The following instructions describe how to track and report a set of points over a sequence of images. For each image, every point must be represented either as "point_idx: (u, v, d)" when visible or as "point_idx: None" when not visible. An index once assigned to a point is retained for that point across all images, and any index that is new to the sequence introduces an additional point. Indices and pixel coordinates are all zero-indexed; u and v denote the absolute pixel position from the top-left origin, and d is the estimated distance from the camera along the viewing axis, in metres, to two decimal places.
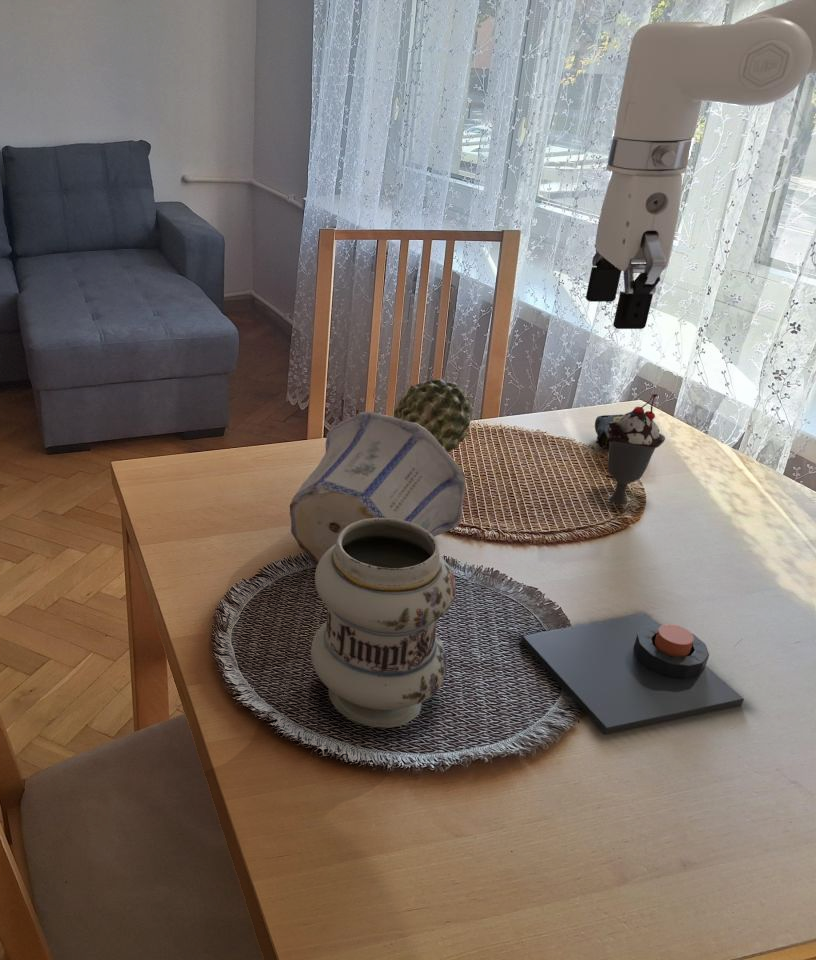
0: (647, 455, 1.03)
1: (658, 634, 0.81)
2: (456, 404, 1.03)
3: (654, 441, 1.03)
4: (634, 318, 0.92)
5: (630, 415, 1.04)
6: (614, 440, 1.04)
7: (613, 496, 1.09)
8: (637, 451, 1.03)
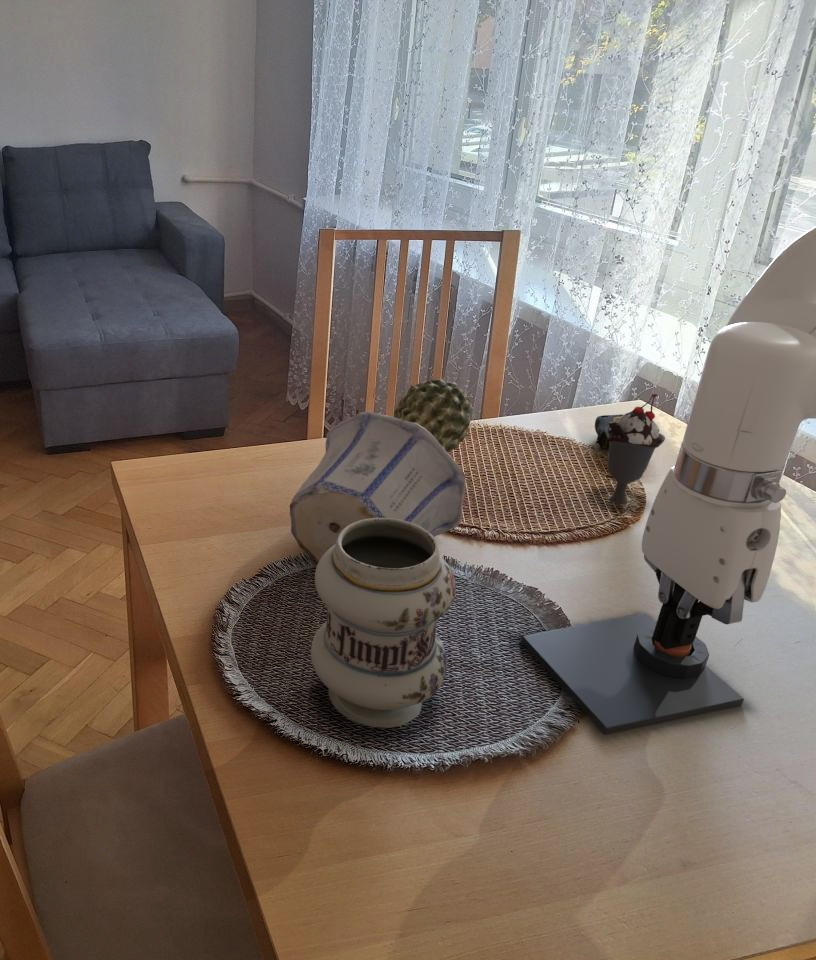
0: (647, 455, 1.03)
1: (656, 641, 0.82)
2: (456, 404, 1.03)
3: (654, 441, 1.03)
4: (687, 639, 0.79)
5: (630, 415, 1.04)
6: (614, 440, 1.04)
7: (613, 496, 1.09)
8: (637, 451, 1.03)
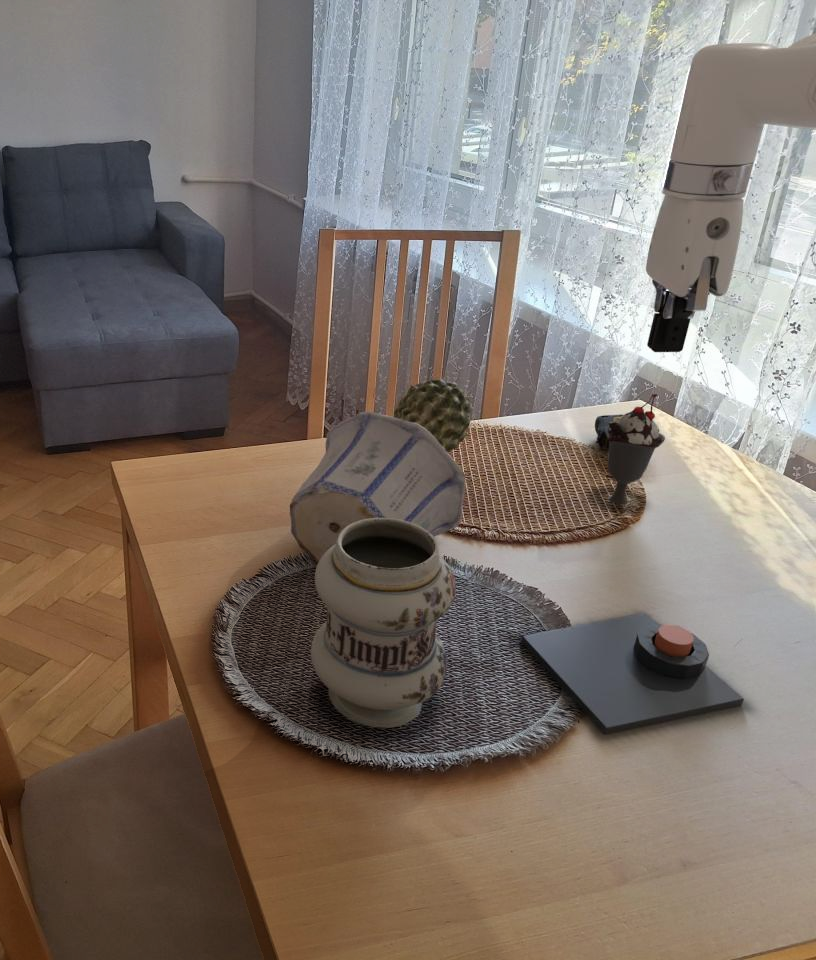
0: (647, 455, 1.03)
1: (658, 634, 0.81)
2: (456, 404, 1.03)
3: (654, 441, 1.03)
4: (672, 342, 0.94)
5: (630, 415, 1.04)
6: (614, 440, 1.04)
7: (613, 496, 1.09)
8: (637, 451, 1.03)
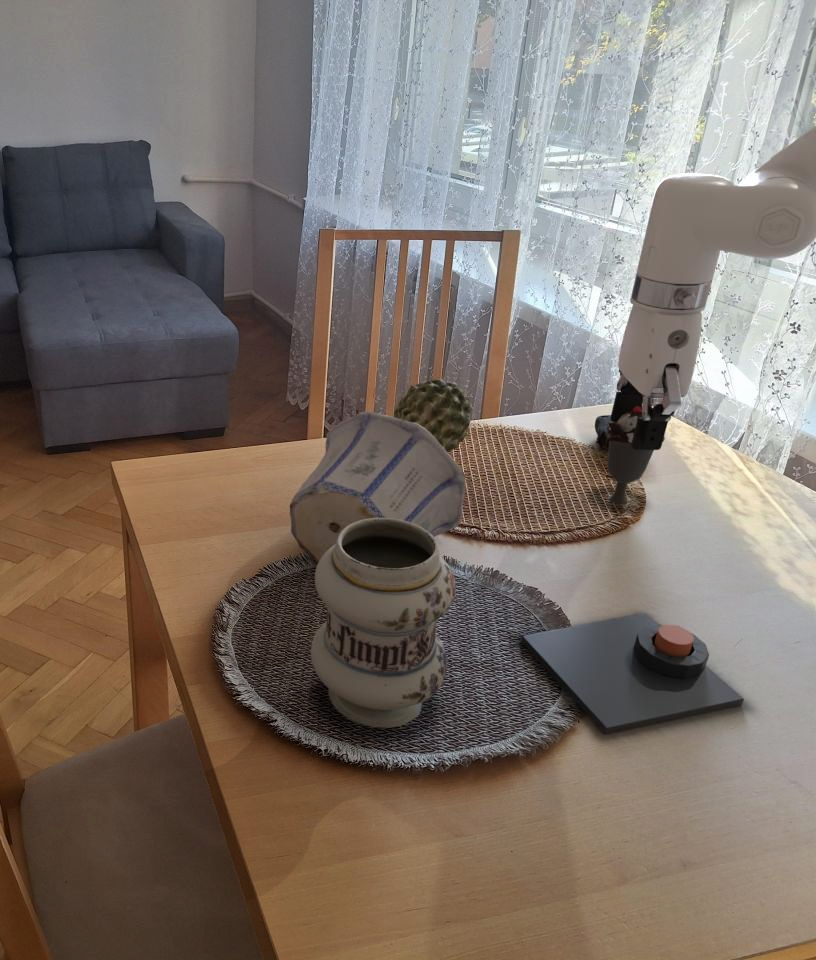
0: (647, 454, 1.03)
1: (658, 634, 0.81)
2: (456, 404, 1.04)
3: None
4: (651, 441, 1.00)
5: (630, 415, 1.04)
6: (614, 440, 1.04)
7: (613, 496, 1.09)
8: (637, 451, 1.03)
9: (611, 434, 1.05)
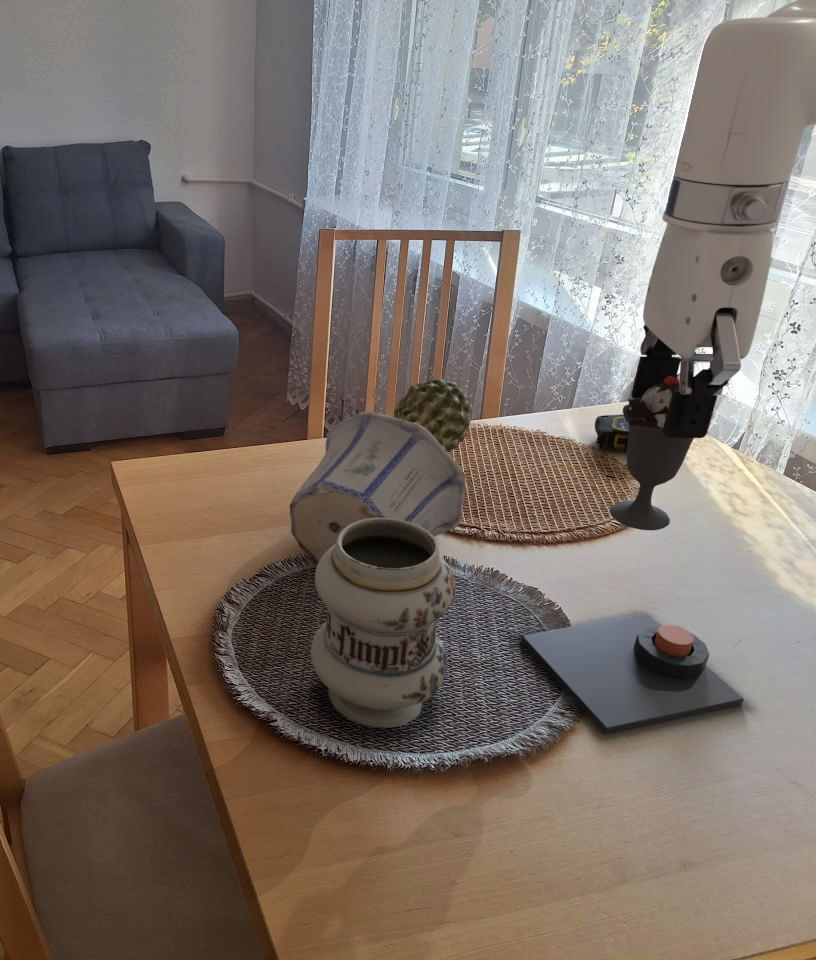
0: (684, 445, 0.72)
1: (658, 634, 0.81)
2: (456, 404, 1.04)
3: None
4: (692, 425, 0.69)
5: (659, 388, 0.72)
6: (636, 424, 0.72)
7: (634, 504, 0.78)
8: (670, 440, 0.72)
9: (632, 416, 0.74)
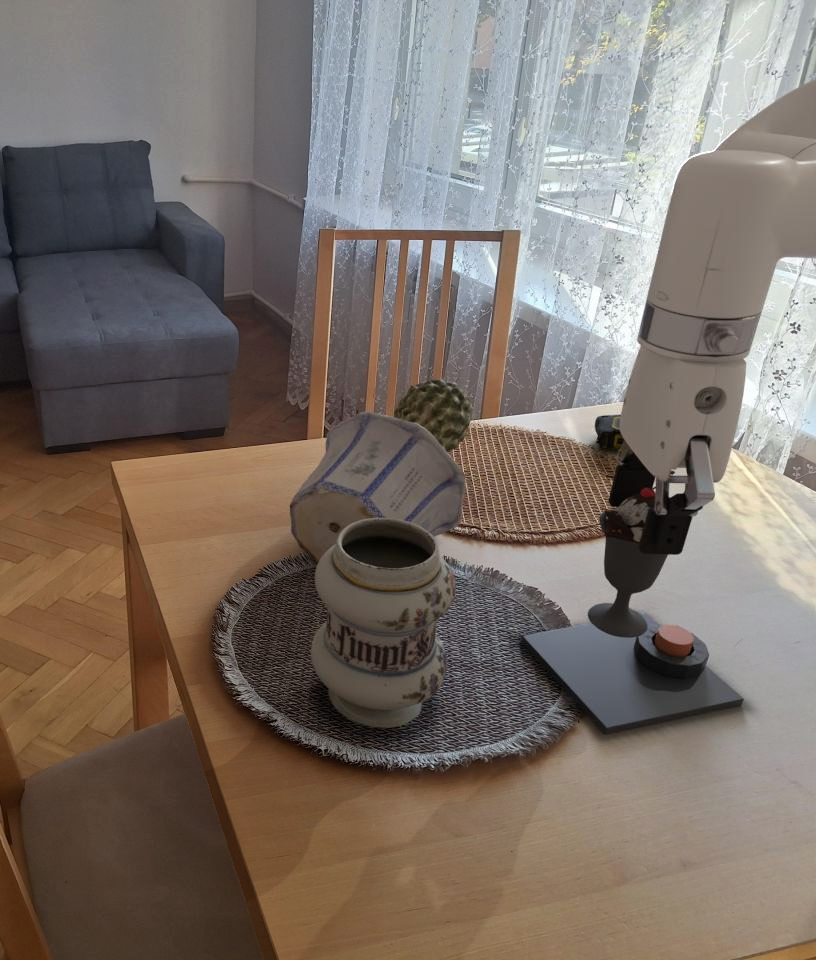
0: (661, 558, 0.72)
1: (658, 634, 0.81)
2: (456, 404, 1.04)
3: None
4: (667, 544, 0.69)
5: (636, 500, 0.72)
6: (613, 536, 0.72)
7: (612, 609, 0.77)
8: None
9: (609, 527, 0.73)
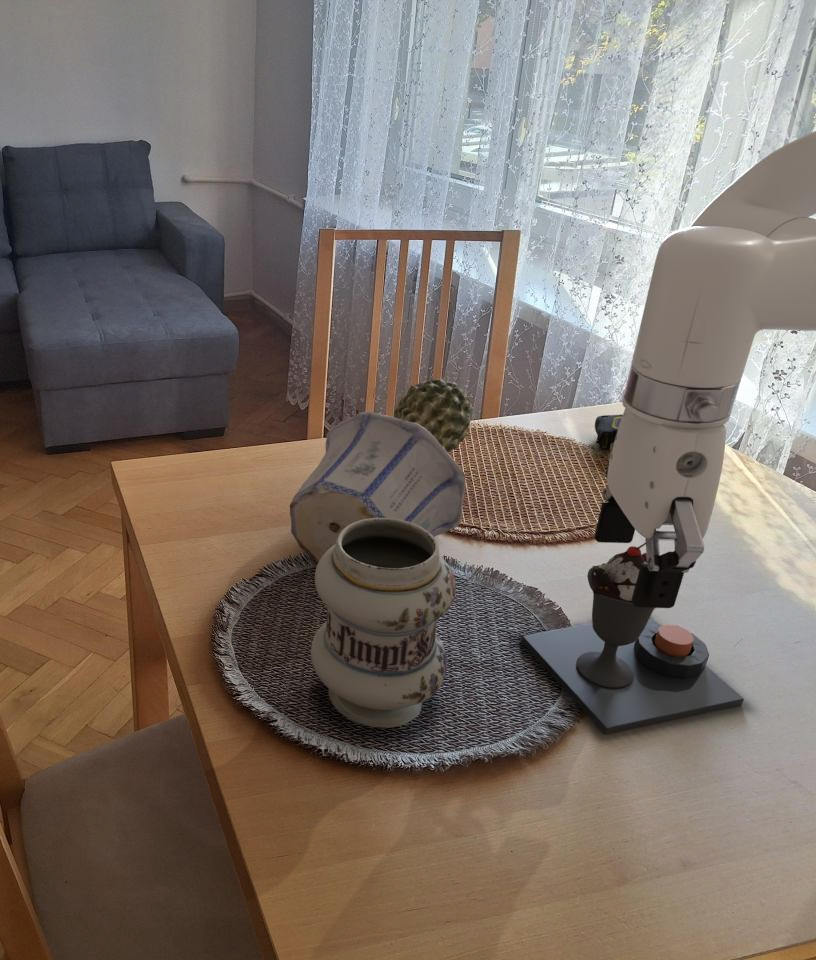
0: (646, 614, 0.75)
1: (658, 634, 0.81)
2: (456, 404, 1.03)
3: None
4: (660, 598, 0.70)
5: (622, 559, 0.75)
6: (600, 593, 0.75)
7: (599, 659, 0.80)
8: (632, 610, 0.74)
9: (596, 583, 0.76)
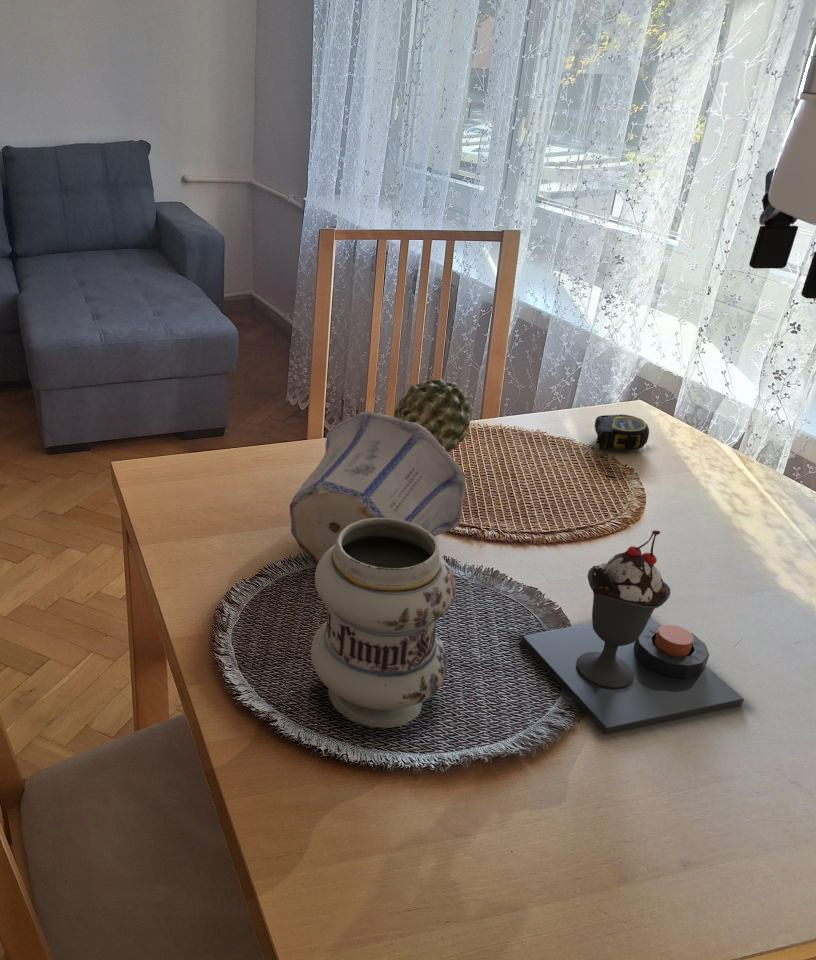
0: (646, 614, 0.75)
1: (658, 634, 0.81)
2: (456, 404, 1.04)
3: (655, 596, 0.74)
4: None
5: (622, 559, 0.75)
6: (600, 593, 0.75)
7: (599, 659, 0.80)
8: (632, 610, 0.74)
9: (597, 583, 0.76)
